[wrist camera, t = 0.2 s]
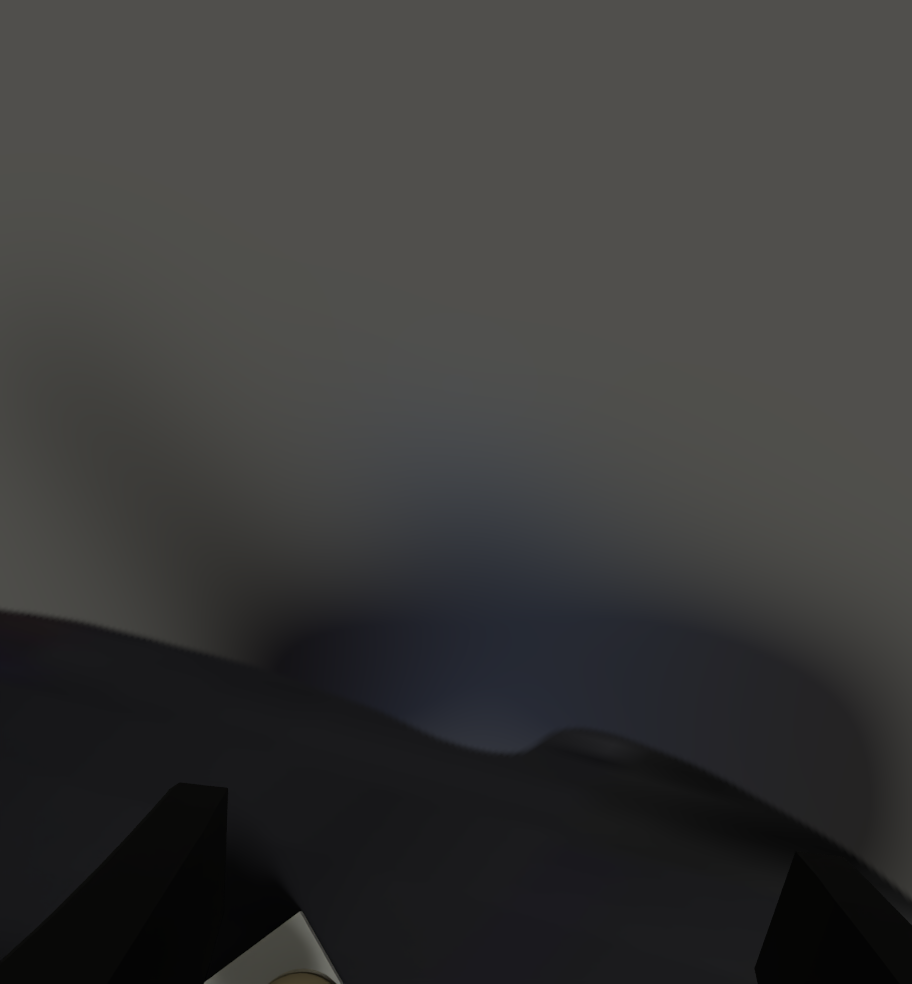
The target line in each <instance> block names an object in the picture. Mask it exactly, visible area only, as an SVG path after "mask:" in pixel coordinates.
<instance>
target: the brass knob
mask: <svg viewBox="0 0 912 984" xmlns="http://www.w3.org/2000/svg"><path fill="white" fill-rule="evenodd" d="M268 984H336V983H335V982H334V981H333V980H332V979H331V978H330V977H328V976H327V975H325V974H324V973H321V972H319V971H316V970H312V969H295V970H291V971H288V972H285V973H283V974H281V975H279V976H277V977H276V978H274V979H273V980H272V981H271V982H269V983H268Z"/></svg>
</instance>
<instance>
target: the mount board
mask: <svg viewBox="0 0 912 984" xmlns="http://www.w3.org/2000/svg"><path fill="white" fill-rule="evenodd" d="M295 969H312V970H316V971H319V972H321V973H324V974H325V975H327V976H328V977H330V978H331V979H332V980H333V981H334V982H335V983H336V984H343V982H342V980H341V979H340V977H339V975H338V973H337V972H336V970H335V968H334V966H333V965H332V963H331V961H330V959H329V958H328V956H327V954H326V952H325V950H324V949H323V947H322V945H321V943H320V942H319V940H318V938H317V936H316V935H315V933H314V931H313V929H312V928H311V926H310V924H309V922H308V921H307V919H306V917H305V915H304V914H303V912H302V911H300V912H298V913H297V914H296V915H294V916H293V917H292V918H290V919H289V920H288V921H286V922H285V923H284V924H282V925H281V926H280V927H278V928H277V929H276V930H274V931H273V932H272V933H270V934H269V935H267V936H266V937H265V938H263V939H262V940H261V941H259V942H258V943H257V944H255V945H254V946H253V947H251V948H250V949H249V950H247V951H246V952H245V953H243V954H242V955H241V956H239V957H238V958H237V959H235V960H234V961H233V962H231V963H230V964H229V965H227V966H226V967H224V968H223V969H222V970H220V971H219V972H218V973H216V974H215V975H214V976H212V977H211V978H210V979H208V980H207V981H206V982H204V984H268V983H269V982H271V981H272V980H273V979H274V978H276V977H277V976H279V975H281V974H283V973H285V972H288V971H291V970H295Z"/></svg>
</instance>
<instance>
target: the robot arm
mask: <svg viewBox="0 0 912 984" xmlns="http://www.w3.org/2000/svg"><path fill="white" fill-rule="evenodd" d="M227 804H228V788H223V787H214V786H205V785H196V784H187V783H178V784H176V785H175V786H174V787H172V788H171V789H169V791H168V792H167V793H166V794H165V795H164V796H163V797H162V799H161V800H160V801H159V802H158V803H157V804H156V805H155V807H154V808H153V809H152V810H151V811H150V812H149V813H148V814H147V815H146V817H145V818H144V819H143V820H142V821H141V822H140V823H139V824H138V825H137V827H136V828H135V829H134V830H133V831H132V832H131V833H130V834H129V835H128V836H127V837H126V838H125V840H124V841H123V842H122V843H121V844H120V845H119V846H118V847H117V848H116V849H115V850H114V851H113V852H112V853H111V854H110V855H109V856H108V857H107V859H106V860H105V861H104V862H103V863H102V864H101V865H100V866H99V867H98V868H97V869H96V870H95V871H94V872H93V873H92V874H91V875H90V876H89V877H88V878H87V879H86V880H85V881H84V882H83V883H82V884H81V885H80V886H79V887H78V888H77V889H76V890H75V891H74V892H73V893H72V894H71V895H70V896H69V897H68V898H67V899H66V900H65V901H64V902H63V903H62V904H61V905H60V906H59V907H58V908H57V909H56V910H55V911H54V912H53V913H52V914H51V915H50V916H49V917H48V918H47V919H46V920H45V921H44V922H42V923H41V924H40V925H39V926H38V927H37V928H36V929H35V930H34V931H33V932H32V933H31V934H30V935H29V936H27V937H26V938H25V939H24V940H23V941H22V942H21V943H20V944H19V945H18V946H16V947H15V948H14V949H13V950H12V951H11V952H10V953H9V954H8V955H7V956H5V957H4V958H3V959H2V960H1V961H0V984H204V982H205V978H206V975H207V971H208V968H209V964H210V961H211V957H212V953H213V950H214V946H215V942H216V938H217V935H218V931H219V927H220V924H221V920H222V916H223V912H224V889H225V861H226V832H227ZM755 973H756V978H757V982H758V984H912V925H911V924H910V923H909V922H908V921H907V920H906V919H905V918H904V917H903V916H902V915H901V914H900V913H899V912H898V911H897V910H896V909H895V908H894V907H893V906H892V905H891V904H890V903H889V902H888V901H887V900H886V899H885V898H884V897H883V896H882V895H881V893H880V892H879V891H878V890H877V889H876V888H875V887H874V886H873V885H872V884H871V883H870V882H869V881H868V880H867V879H865V878H864V877H863V876H862V875H861V874H860V873H859V872H858V871H857V870H856V869H855V868H854V867H853V866H852V865H851V864H850V863H849V862H848V861H847V860H846V859H845V858H844V857H841V856H832V855H823V854H814V853H805V852H795V855H794V858H793V860H792V863H791V866H790V869H789V872H788V875H787V878H786V880H785V883H784V886H783V889H782V892H781V895H780V897H779V900H778V903H777V906H776V909H775V912H774V914H773V917H772V920H771V923H770V926H769V929H768V932H767V934H766V937H765V940H764V943H763V946H762V949H761V951H760V954H759V957H758V960H757V963H756V966H755Z"/></svg>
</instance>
